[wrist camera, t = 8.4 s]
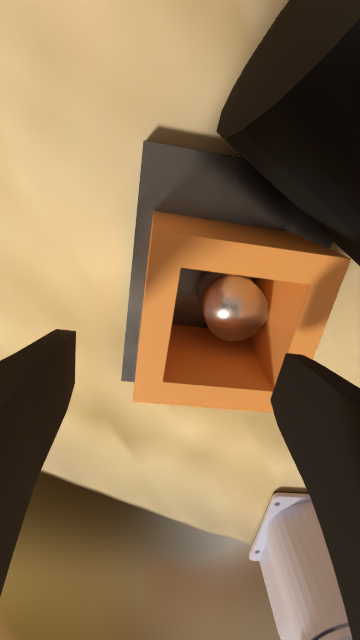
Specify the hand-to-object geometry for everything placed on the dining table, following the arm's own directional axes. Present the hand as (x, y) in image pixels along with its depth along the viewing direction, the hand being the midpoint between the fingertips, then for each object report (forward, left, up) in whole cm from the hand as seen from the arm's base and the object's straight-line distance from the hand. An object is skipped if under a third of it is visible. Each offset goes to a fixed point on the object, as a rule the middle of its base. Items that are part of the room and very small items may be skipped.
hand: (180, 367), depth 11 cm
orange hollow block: (0, -2, -8) cm, 9 cm away
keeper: (0, -3, -9) cm, 10 cm away
